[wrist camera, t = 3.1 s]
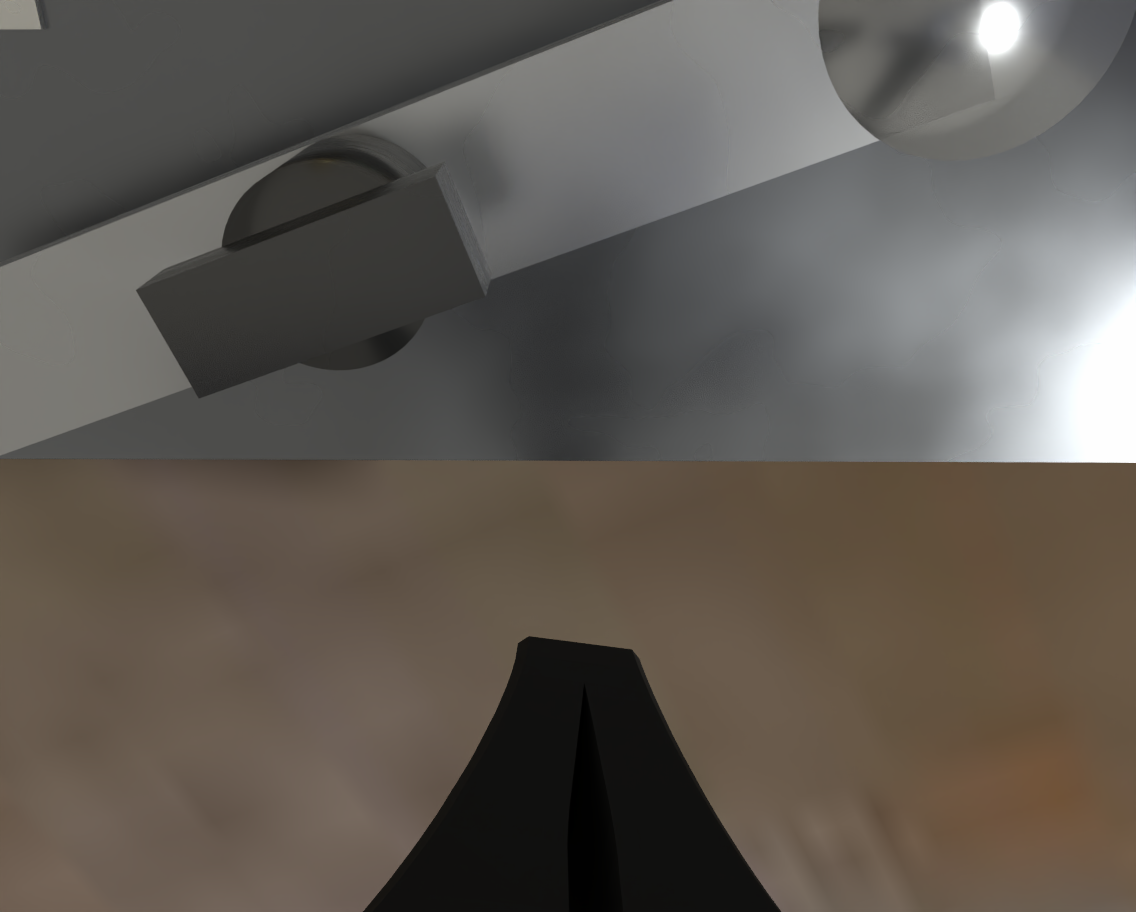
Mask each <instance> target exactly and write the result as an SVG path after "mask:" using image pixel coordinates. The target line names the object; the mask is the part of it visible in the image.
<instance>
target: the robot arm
mask: <svg viewBox="0 0 1136 912" xmlns="http://www.w3.org/2000/svg"><path fill="white" fill-rule="evenodd" d="M363 912H781V911H780V909H779V908H778V907H777V905H776V904H775V903H774V901H773V900H772V899H771V897H770V896H769V894H768V893H767V892H766V890H765V889H764V887H763V886H762V884H761V883H760V882H759V880H758V879H757V877H756V876H755V874H754V873H753V871H752V870H751V868H750V867H749V865H748V864H747V862H746V861H745V859H744V858H743V856H742V855H741V853H740V852H739V850H738V849H737V847H736V845H735V844H734V842H733V841H732V839H731V837H730V836H729V834H728V833H727V831H726V830H725V828H724V826H723V825H722V823H721V822H720V820H719V818H718V817H717V815H716V813H715V812H714V810H713V808H712V806H711V805H710V803H709V801H708V800H707V798H706V796H705V794H704V793H703V791H702V789H701V787H700V785H699V784H698V782H697V780H696V778H695V776H694V774H693V773H692V771H691V769H690V767H689V765H688V763H687V762H686V760H685V758H684V756H683V754H682V752H681V750H680V748H679V747H678V745H677V743H676V741H675V739H674V737H673V735H672V733H671V731H670V729H669V726H668V724H667V722H666V720H665V718H664V716H663V714H662V712H661V710H660V708H659V705H658V703H657V701H656V699H655V696H654V694H653V692H652V690H651V687H650V685H649V683H648V680H647V678H646V675H645V673H644V670H643V668H642V665H641V662H640V660H639V658H638V657H637V655H636V654H635V653H634V652H633V650H631V649H624V648H616V647H608V646H600V645H592V644H585V643H577V642H569V641H561V640H553V639H546V638H538V637H530V636H529V637H527V638H526V639H524V640H522V641H521V642H519V643H518V647H517V653H516V659H515V663H514V666H513V670H512V673H511V676H510V679H509V681H508V684H507V687H506V689H505V692H504V694H503V696H502V698H501V701H500V703H499V705H498V708H497V710H496V712H495V714H494V716H493V718H492V720H491V722H490V724H489V726H488V728H487V730H486V732H485V734H484V736H483V737H482V739H481V741H480V743H479V745H478V747H477V749H476V751H475V753H474V755H473V757H472V758H471V760H470V762H469V764H468V765H467V767H466V769H465V770H464V772H463V773H462V775H461V777H460V778H459V780H458V781H457V783H456V785H455V786H454V788H453V789H452V791H451V793H450V794H449V796H448V798H447V799H446V801H445V802H444V804H443V806H442V807H441V809H440V810H439V812H438V813H437V815H436V816H435V818H434V819H433V821H432V822H431V824H430V825H429V827H428V828H427V830H426V831H425V832H424V834H423V835H422V837H421V838H420V840H419V841H418V842H417V844H416V845H415V846H414V848H413V849H412V851H411V852H410V853H409V855H408V856H407V857H406V859H405V860H404V861H403V863H402V864H401V865H400V867H399V868H398V869H397V871H396V872H395V873H394V874H393V876H392V877H391V878H390V880H389V881H388V882H387V883H386V885H385V886H384V887H383V888H382V889H381V891H380V892H379V893H378V894H377V896H376V897H375V898H374V899H373V900H372V902H371V903H370V904H369V905H368V906H367V908H366V909H365V910H364V911H363Z"/></svg>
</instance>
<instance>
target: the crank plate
mask: <svg viewBox="0 0 1136 912" xmlns="http://www.w3.org/2000/svg"><path fill="white" fill-rule="evenodd" d="M657 1H659V0H0V262H2V261H5V260H7V259H10V258H12V257H15V256H18V255H20V254H23V253H25V252H28V251H30V250H33V249H35V248H38V247H40V246H43V245H45V244H48V243H50V242H53V241H55V240H58V239H60V238H63V237H65V236H68V235H70V234H73V233H75V232H78V231H80V230H83V229H85V228H88V227H91V226H93V225H96V224H98V223H101V222H103V221H106V220H108V219H111V218H113V217H116V216H118V215H121V214H123V213H126V212H128V211H131V210H133V209H136V208H138V207H141V206H143V205H146V204H148V203H151V202H153V201H156V200H158V199H161V198H164V197H166V196H169V195H171V194H174V193H176V192H179V191H181V190H184V189H186V188H189V187H191V186H194V185H196V184H199V183H201V182H204V181H206V180H209V179H211V178H214V177H216V176H219V175H221V174H224V173H226V172H229V171H231V170H234V169H237V168H239V167H242V166H244V165H247V164H249V163H252V162H254V161H257V160H259V159H262V158H264V157H267V156H269V155H272V154H274V153H277V152H279V151H282V150H284V149H287V148H289V147H292V146H294V145H297V144H299V143H302V142H304V141H307V140H310V139H312V138H315V137H317V136H320V135H322V134H325V133H327V132H330V131H332V130H335V129H337V128H340V127H342V126H345V125H347V124H350V123H352V122H355V121H357V120H360V119H362V118H365V117H367V116H370V115H372V114H375V113H377V112H380V111H383V110H385V109H388V108H390V107H393V106H395V105H398V104H400V103H403V102H405V101H408V100H410V99H413V98H415V97H418V96H420V95H423V94H425V93H428V92H430V91H433V90H435V89H438V88H440V87H443V86H445V85H448V84H450V83H453V82H456V81H458V80H461V79H463V78H466V77H468V76H471V75H473V74H476V73H478V72H481V71H483V70H486V69H488V68H491V67H493V66H496V65H498V64H501V63H503V62H506V61H508V60H511V59H513V58H516V57H518V56H521V55H523V54H526V53H529V52H531V51H534V50H536V49H539V48H541V47H544V46H546V45H549V44H551V43H554V42H556V41H559V40H561V39H564V38H566V37H569V36H571V35H574V34H576V33H579V32H581V31H584V30H586V29H589V28H591V27H594V26H596V25H599V24H602V23H604V22H607V21H609V20H612V19H614V18H617V17H619V16H622V15H624V14H627V13H629V12H632V11H634V10H637V9H639V8H642V7H644V6H647V5H649V4H652V3H654V2H657ZM0 459H251V460H554V461H857V462H1136V10H1135V13H1134V16H1133V19H1132V22H1131V25H1130V28H1129V30H1128V32H1127V34H1126V36H1125V39H1124V41H1123V43H1122V45H1121V47H1120V49H1119V51H1118V53H1117V54H1116V56H1115V58H1114V59H1113V61H1112V63H1111V64H1110V66H1109V68H1108V69H1107V71H1106V72H1105V73H1104V75H1103V76H1102V77H1101V79H1100V80H1099V81H1098V83H1097V84H1096V85H1095V87H1094V88H1093V89H1092V90H1091V91H1090V92H1089V94H1088V95H1087V96H1086V97H1085V98H1084V99H1083V100H1082V101H1081V102H1080V103H1079V104H1078V105H1077V106H1076V107H1075V108H1074V109H1073V110H1072V111H1071V112H1069V113H1068V114H1067V115H1066V116H1065V117H1064V118H1063V119H1061V120H1060V121H1059V122H1057V123H1056V124H1055V125H1053V126H1052V127H1050V128H1049V129H1048V130H1046V131H1045V132H1043V133H1042V134H1040V135H1038V136H1036V137H1034V138H1033V139H1031V140H1029V141H1027V142H1025V143H1024V144H1021V145H1019V146H1016V147H1014V148H1012V149H1009V150H1007V151H1004V152H1001V153H998V154H994V155H990V156H987V157H983V158H976V159H970V160H956V161H943V160H934V159H925V158H922V157H918V156H914V155H910V154H907V153H904V152H902V151H900V150H897V149H895V148H893V147H890V146H889V145H887V144H885V143H884V142H882V141H880V140H879V141H876V142H874V143H871V144H868V145H865V146H862V147H860V148H857V149H854V150H851V151H849V152H846V153H843V154H840V155H837V156H835V157H832V158H829V159H826V160H823V161H821V162H818V163H815V164H812V165H809V166H807V167H804V168H801V169H798V170H796V171H793V172H790V173H787V174H784V175H782V176H779V177H776V178H773V179H770V180H768V181H765V182H762V183H759V184H756V185H754V186H751V187H748V188H745V189H743V190H740V191H737V192H734V193H731V194H729V195H726V196H723V197H720V198H717V199H715V200H712V201H709V202H706V203H703V204H701V205H698V206H695V207H692V208H690V209H687V210H684V211H681V212H678V213H676V214H673V215H670V216H667V217H664V218H662V219H659V220H656V221H653V222H650V223H648V224H645V225H642V226H639V227H637V228H634V229H631V230H628V231H625V232H623V233H620V234H617V235H614V236H611V237H609V238H606V239H603V240H600V241H597V242H595V243H592V244H589V245H586V246H584V247H581V248H578V249H575V250H572V251H570V252H567V253H564V254H561V255H558V256H556V257H553V258H550V259H547V260H544V261H542V262H539V263H536V264H533V265H531V266H528V267H525V268H522V269H519V270H517V271H514V272H511V273H508V274H505V275H503V276H500V277H497V278H494V279H491V280H490V283H489V287H488V290H487V294H486V297H483V298H480V299H478V300H475V301H472V302H469V303H466V304H464V305H461V306H458V307H455V308H452V309H450V310H447V311H444V312H441V313H438V314H435V315H433V316H430V317H427V318H425V319H424V321H423V323H422V325H421V327H420V328H419V330H418V331H417V333H416V334H415V336H414V337H413V338H412V339H411V340H410V341H409V342H408V343H407V344H406V345H405V346H404V347H403V348H402V349H401V350H399V351H398V352H397V353H396V354H394V355H392V356H391V357H389V358H387V359H386V360H383V361H381V362H379V363H376V364H374V365H371V366H367V367H364V368H360V369H353V370H326V369H319V368H315V367H310V366H307V365H304V364H301V363H298V364H295V365H292V366H289V367H286V368H284V369H281V370H278V371H275V372H272V373H270V374H267V375H264V376H261V377H258V378H256V379H253V380H250V381H247V382H244V383H241V384H239V385H236V386H233V387H230V388H227V389H225V390H222V391H219V392H216V393H213V394H211V395H208V396H205V397H202V398H198V396H197V395H196V393H195V391H194V390H193V388H192V387H190V388H187V389H185V390H182V391H179V392H176V393H173V394H171V395H168V396H165V397H162V398H159V399H157V400H154V401H151V402H148V403H146V404H143V405H140V406H137V407H134V408H132V409H129V410H126V411H123V412H120V413H118V414H115V415H112V416H109V417H106V418H104V419H101V420H98V421H95V422H93V423H90V424H87V425H84V426H81V427H79V428H76V429H73V430H70V431H67V432H65V433H62V434H59V435H56V436H53V437H51V438H48V439H45V440H42V441H40V442H37V443H34V444H31V445H28V446H26V447H23V448H20V449H17V450H14V451H12V452H9V453H6V454H3V455H0Z"/></svg>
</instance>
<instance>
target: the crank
mask: <svg viewBox="0 0 1136 912" xmlns="http://www.w3.org/2000/svg"><path fill="white" fill-rule="evenodd" d="M1135 10H1136V0H659V1H657V2H654V3H652V4H649V5H647V6H644V7H642V8H639V9H637V10H634V11H632V12H629V13H627V14H624V15H622V16H619V17H617V18H614V19H612V20H609V21H607V22H604V23H602V24H599V25H596V26H594V27H591V28H589V29H586V30H584V31H581V32H579V33H576V34H574V35H571V36H569V37H566V38H564V39H561V40H559V41H556V42H554V43H551V44H549V45H546V46H544V47H541V48H539V49H536V50H534V51H531V52H529V53H526V54H523V55H521V56H518V57H516V58H513V59H511V60H508V61H506V62H503V63H501V64H498V65H496V66H493V67H491V68H488V69H486V70H483V71H481V72H478V73H476V74H473V75H471V76H468V77H466V78H463V79H461V80H458V81H456V82H453V83H450V84H448V85H445V86H443V87H440V88H438V89H435V90H433V91H430V92H428V93H425V94H423V95H420V96H418V97H415V98H413V99H410V100H408V101H405V102H403V103H400V104H398V105H395V106H393V107H390V108H388V109H385V110H383V111H380V112H377V113H375V114H372V115H370V116H367V117H365V118H362V119H360V120H357V121H355V122H352V123H350V124H347V125H345V126H342V127H340V128H337V129H335V130H332V131H330V132H327V133H325V134H322V135H320V136H317V137H315V138H312V139H310V140H307V141H304V142H302V143H299V144H297V145H294V146H292V147H289V148H287V149H284V150H282V151H279V152H277V153H274V154H272V155H269V156H267V157H264V158H262V159H259V160H257V161H254V162H252V163H249V164H247V165H244V166H242V167H239V168H237V169H234V170H231V171H229V172H226V173H224V174H221V175H219V176H216V177H214V178H211V179H209V180H206V181H204V182H201V183H199V184H196V185H194V186H191V187H189V188H186V189H184V190H181V191H179V192H176V193H174V194H171V195H169V196H166V197H164V198H161V199H158V200H156V201H153V202H151V203H148V204H146V205H143V206H141V207H138V208H136V209H133V210H131V211H128V212H126V213H123V214H121V215H118V216H116V217H113V218H111V219H108V220H106V221H103V222H101V223H98V224H96V225H93V226H91V227H88V228H85V229H83V230H80V231H78V232H75V233H73V234H70V235H68V236H65V237H63V238H60V239H58V240H55V241H53V242H50V243H48V244H45V245H43V246H40V247H38V248H35V249H33V250H30V251H28V252H25V253H23V254H20V255H18V256H15V257H12V258H10V259H7V260H5V261H2V262H0V455H3V454H6V453H9V452H12V451H14V450H17V449H20V448H23V447H26V446H28V445H31V444H34V443H37V442H40V441H42V440H45V439H48V438H51V437H53V436H56V435H59V434H62V433H65V432H67V431H70V430H73V429H76V428H79V427H81V426H84V425H87V424H90V423H93V422H95V421H98V420H101V419H104V418H106V417H109V416H112V415H115V414H118V413H120V412H123V411H126V410H129V409H132V408H134V407H137V406H140V405H143V404H146V403H148V402H151V401H154V400H157V399H159V398H162V397H165V396H168V395H171V394H173V393H176V392H179V391H182V390H185V389H187V388H190V387H192V388H193V390H194V391H195V393H196V395H197V396H198V398H202V397H205V396H208V395H211V394H213V393H216V392H219V391H222V390H225V389H227V388H230V387H233V386H236V385H239V384H241V383H244V382H247V381H250V380H253V379H256V378H258V377H261V376H264V375H267V374H270V373H272V372H275V371H278V370H281V369H284V368H286V367H289V366H292V365H295V364H298V363H301V364H304V365H307V366H310V367H315V368H319V369H326V370H353V369H360V368H364V367H367V366H371V365H374V364H376V363H379V362H381V361H383V360H386V359H387V358H389V357H391V356H392V355H394V354H396V353H397V352H398V351H399V350H401V349H402V348H403V347H404V346H405V345H406V344H407V343H408V342H409V341H410V340H411V339H412V338H413V337H414V336H415V334H416V333H417V331H418V330H419V328H420V327H421V325H422V323H423V321H424V319H425V318H427V317H430V316H433V315H435V314H438V313H441V312H444V311H447V310H450V309H452V308H455V307H458V306H461V305H464V304H466V303H469V302H472V301H475V300H478V299H480V298H483V297H486V294H487V290H488V287H489V283H490V280H491V279H494V278H497V277H500V276H503V275H505V274H508V273H511V272H514V271H517V270H519V269H522V268H525V267H528V266H531V265H533V264H536V263H539V262H542V261H544V260H547V259H550V258H553V257H556V256H558V255H561V254H564V253H567V252H570V251H572V250H575V249H578V248H581V247H584V246H586V245H589V244H592V243H595V242H597V241H600V240H603V239H606V238H609V237H611V236H614V235H617V234H620V233H623V232H625V231H628V230H631V229H634V228H637V227H639V226H642V225H645V224H648V223H650V222H653V221H656V220H659V219H662V218H664V217H667V216H670V215H673V214H676V213H678V212H681V211H684V210H687V209H690V208H692V207H695V206H698V205H701V204H703V203H706V202H709V201H712V200H715V199H717V198H720V197H723V196H726V195H729V194H731V193H734V192H737V191H740V190H743V189H745V188H748V187H751V186H754V185H756V184H759V183H762V182H765V181H768V180H770V179H773V178H776V177H779V176H782V175H784V174H787V173H790V172H793V171H796V170H798V169H801V168H804V167H807V166H809V165H812V164H815V163H818V162H821V161H823V160H826V159H829V158H832V157H835V156H837V155H840V154H843V153H846V152H849V151H851V150H854V149H857V148H860V147H862V146H865V145H868V144H871V143H874V142H876V141H879V140H880V141H882V142H884V143H885V144H887V145H889V146H890V147H893V148H895V149H897V150H900V151H902V152H904V153H907V154H910V155H914V156H918V157H922V158H925V159H934V160H943V161H956V160H970V159H976V158H983V157H987V156H990V155H994V154H998V153H1001V152H1004V151H1007V150H1009V149H1012V148H1014V147H1016V146H1019V145H1021V144H1024V143H1025V142H1027V141H1029V140H1031V139H1033V138H1034V137H1036V136H1038V135H1040V134H1042V133H1043V132H1045V131H1046V130H1048V129H1049V128H1050V127H1052V126H1053V125H1055V124H1056V123H1057V122H1059V121H1060V120H1061V119H1063V118H1064V117H1065V116H1066V115H1067V114H1068V113H1069V112H1071V111H1072V110H1073V109H1074V108H1075V107H1076V106H1077V105H1078V104H1079V103H1080V102H1081V101H1082V100H1083V99H1084V98H1085V97H1086V96H1087V95H1088V94H1089V92H1090V91H1091V90H1092V89H1093V88H1094V87H1095V85H1096V84H1097V83H1098V81H1099V80H1100V79H1101V77H1102V76H1103V75H1104V73H1105V72H1106V71H1107V69H1108V68H1109V66H1110V64H1111V63H1112V61H1113V59H1114V58H1115V56H1116V54H1117V53H1118V51H1119V49H1120V47H1121V45H1122V43H1123V41H1124V39H1125V36H1126V34H1127V32H1128V30H1129V28H1130V25H1131V22H1132V19H1133V16H1134V13H1135Z"/></svg>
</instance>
